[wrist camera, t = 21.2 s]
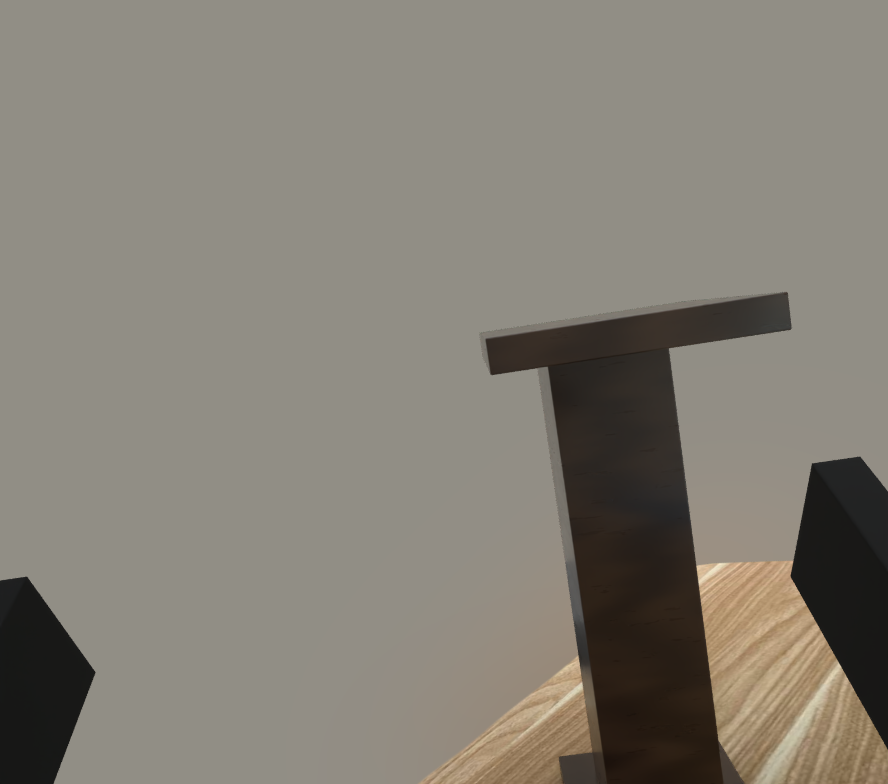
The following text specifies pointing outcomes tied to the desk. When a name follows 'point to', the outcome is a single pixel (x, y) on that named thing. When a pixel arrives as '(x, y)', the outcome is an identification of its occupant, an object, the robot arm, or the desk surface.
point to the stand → (632, 528)
